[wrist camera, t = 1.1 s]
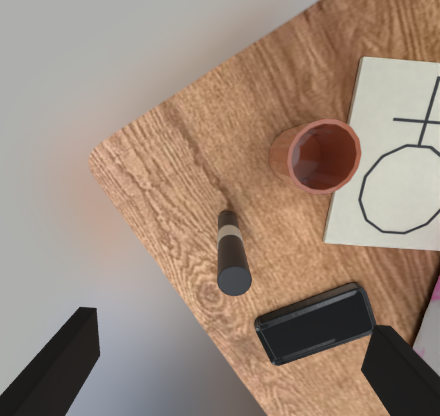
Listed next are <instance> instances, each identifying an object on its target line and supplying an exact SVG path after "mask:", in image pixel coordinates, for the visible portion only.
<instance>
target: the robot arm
mask: <svg viewBox="0 0 440 416" xmlns="http://www.w3.org/2000/svg"><path fill="white" fill-rule="evenodd" d="M99 356H100V347H99V335H98V322H97V309H96V308H88V307H79V309H77V311H76V312H75V313H74V314H73V315H72V316H71V317H70V318H69V319H68V321H67V322H66V323H65V324H64V325H63V326H62V327H61V329H60V330H59V331H58V332H57V333H56V334H55V335H54V336H53V337H52V339H51V340H50V341H49V342H48V343H47V344H46V345H45V347H44V348H43V349H42V350H41V351H40V352H39V353H38V354H37V355H36V356H35V358H34V359H33V360H32V361H31V362H30V363H29V364H28V365H27V366H26V368H25V369H24V370H23V371H22V372H21V373H20V374H19V375H18V377H17V378H16V379H15V380H14V381H13V382H12V383H11V384H10V385H9V387H8V388H7V389H6V390H5V391H4V392H3V393H2V394H1V396H0V416H65V415H66V413H67V411H68V410H69V408H70V406H71V404H72V403H73V401H74V399H75V398H76V396H77V394H78V393H79V391H80V389H81V387H82V386H83V384H84V382H85V380H86V379H87V377H88V375H89V374H90V372H91V370H92V368H93V367H94V365H95V363H96V362H97V360H98V358H99ZM361 371H362V373H363V374H364V376H365V377H366V379H367V380H368V382H369V383H370V385H371V386H372V388H373V390H374V391H375V393H376V394H377V396H378V397H379V399H380V400H381V402H382V403H383V405H384V407H385V408H386V410H387V411H388V413H389V414H390V416H440V376H439V375H438V374H437V373H436V372H435V371H434V370H433V369H432V368H431V367H430V366H429V365H428V364H427V363H426V362H425V361H424V360H423V359H422V358H421V357H420V356H419V355H418V354H417V353H416V352H415V351H414V350H413V349H412V348H411V347H410V346H409V344H408V343H407V342H406V341H405V340H404V339H403V338H402V337H401V336H400V335H399V334H398V333H397V332H396V331H395V330H394V329H393V328H392V327H391V326H384V325H374V328H373V332H372V335H371V338H370V342H369V345H368V348H367V351H366V355H365V358H364V361H363V365H362V368H361Z"/></svg>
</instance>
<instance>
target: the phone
mask: <svg viewBox="0 0 440 416" xmlns="http://www.w3.org/2000/svg"><path fill="white" fill-rule="evenodd" d="M374 325H377V324H376V321H375V318H374V315H373V311H372V308H371V305H370V302H369V299H368V296H367V293H366V291H365V290H364V289H363V288H362V287H361V286H360V285H359V284H357V283H350V284H347V285H345V286H342V287H339V288H336V289H334V290H331V291H328V292H326V293H323V294H320V295H318V296H315V297H312V298H309V299H307V300H304V301H301V302H299V303H296V304H293V305H290V306H288V307H285V308H282V309H280V310H277V311H274V312H272V313H269V314H266V315H263V316H261V317H259V318H257V319H256V320H255V329H256V333H257V335H258V337H259V339H260V341H261V343H262V345H263V347H264V349H265V351H266V353H267V355H268V357H269V359H270V361H271V363H272V364H273V365H276V366H280V365H283V364H286V363H289V362H292V361H295V360H298V359H301V358H304V357H307V356H310V355H312V354H315V353H318V352H321V351H324V350H327V349H330V348H333V347H336V346H339V345H342V344H345V343H348V342H350V341H353V340H356V339H359V338H362V337H365V336H368V335H371V334H372V332H373V328H374Z"/></svg>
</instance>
